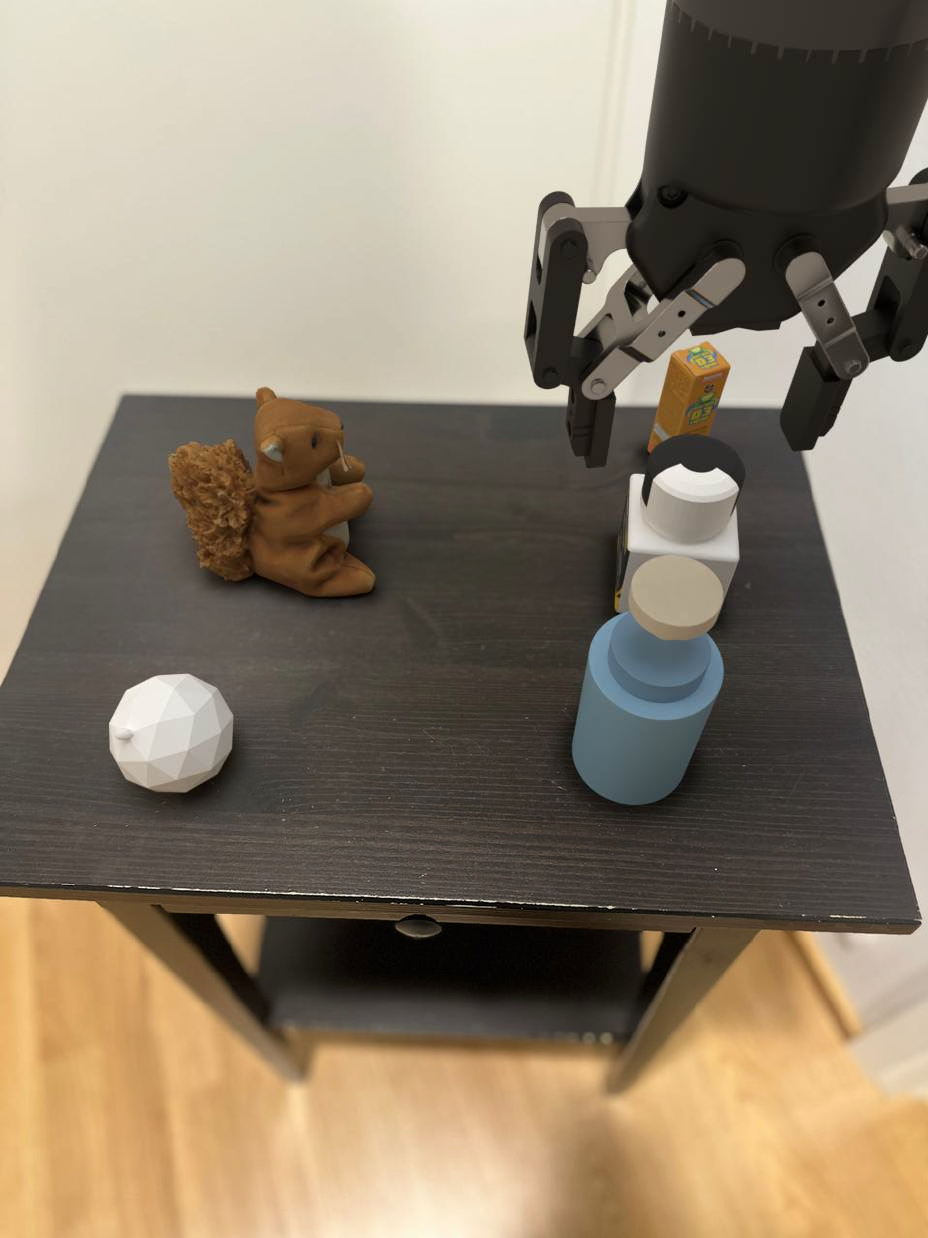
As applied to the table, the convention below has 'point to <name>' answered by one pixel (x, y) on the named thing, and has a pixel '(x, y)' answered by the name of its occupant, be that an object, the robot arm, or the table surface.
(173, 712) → the ornament
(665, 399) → the supplement box
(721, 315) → the robot arm
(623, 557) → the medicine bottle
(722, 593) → the disc
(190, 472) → the stuffed squirrel
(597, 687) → the pump bottle
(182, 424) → the table surface
